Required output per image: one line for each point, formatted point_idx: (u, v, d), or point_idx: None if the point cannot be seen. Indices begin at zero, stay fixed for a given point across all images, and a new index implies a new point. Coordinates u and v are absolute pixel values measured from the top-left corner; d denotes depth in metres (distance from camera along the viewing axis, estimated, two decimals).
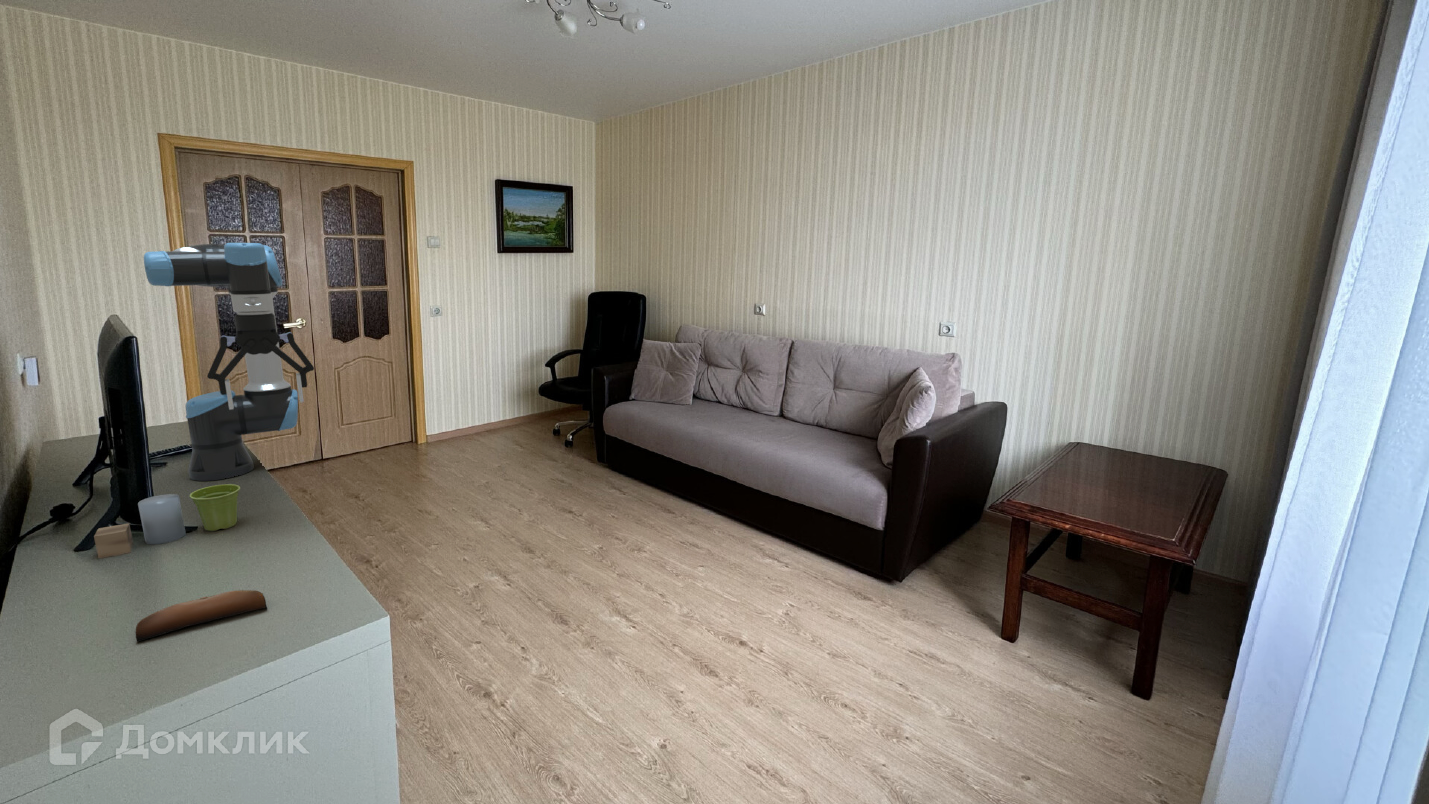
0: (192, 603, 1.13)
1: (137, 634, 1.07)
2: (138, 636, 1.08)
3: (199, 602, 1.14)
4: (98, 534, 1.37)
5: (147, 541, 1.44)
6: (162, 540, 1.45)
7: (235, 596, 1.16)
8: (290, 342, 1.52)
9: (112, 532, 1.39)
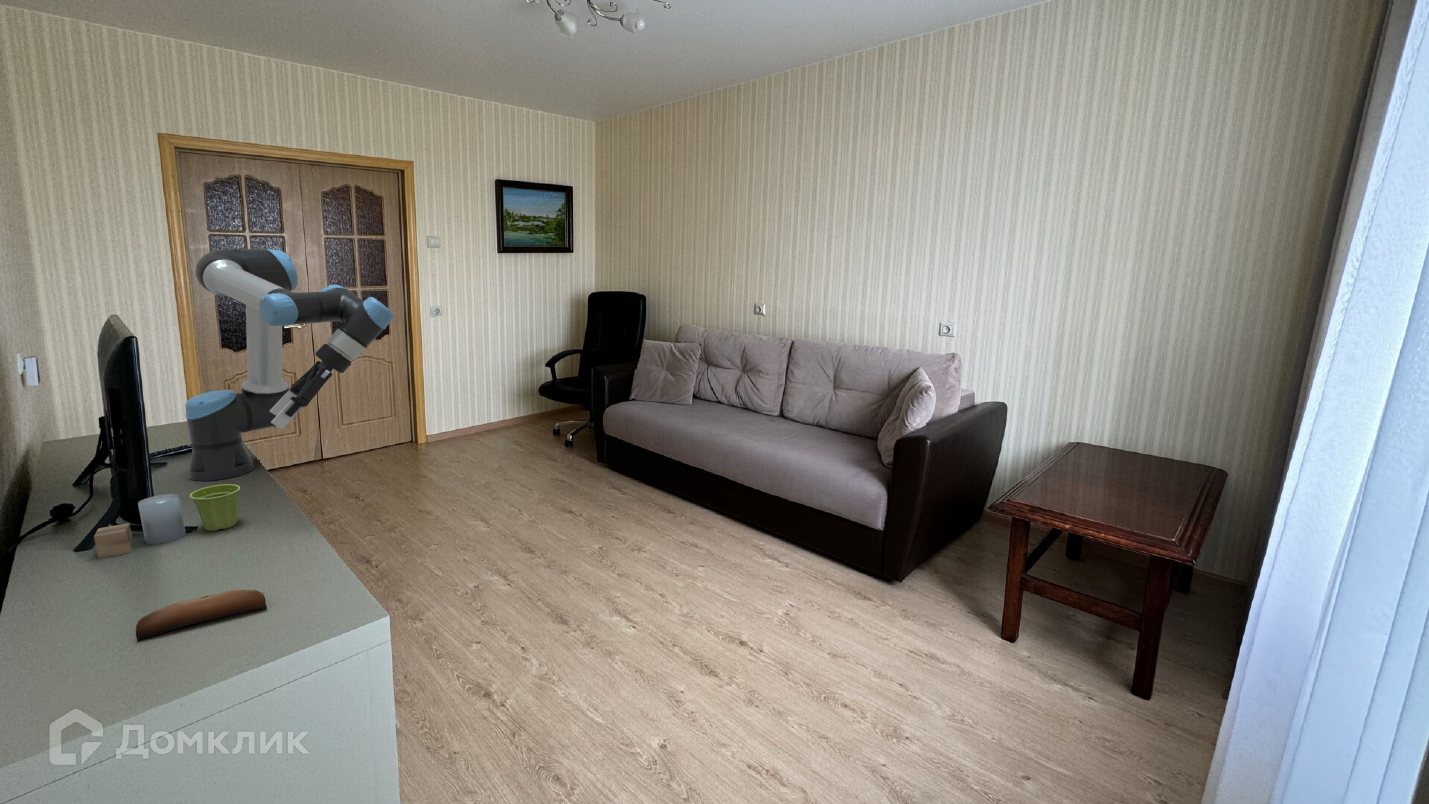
0: (192, 602, 1.14)
1: (137, 632, 1.08)
2: (138, 635, 1.08)
3: (199, 601, 1.14)
4: (98, 534, 1.37)
5: (147, 541, 1.44)
6: (162, 540, 1.45)
7: (235, 595, 1.16)
8: None
9: (112, 532, 1.39)
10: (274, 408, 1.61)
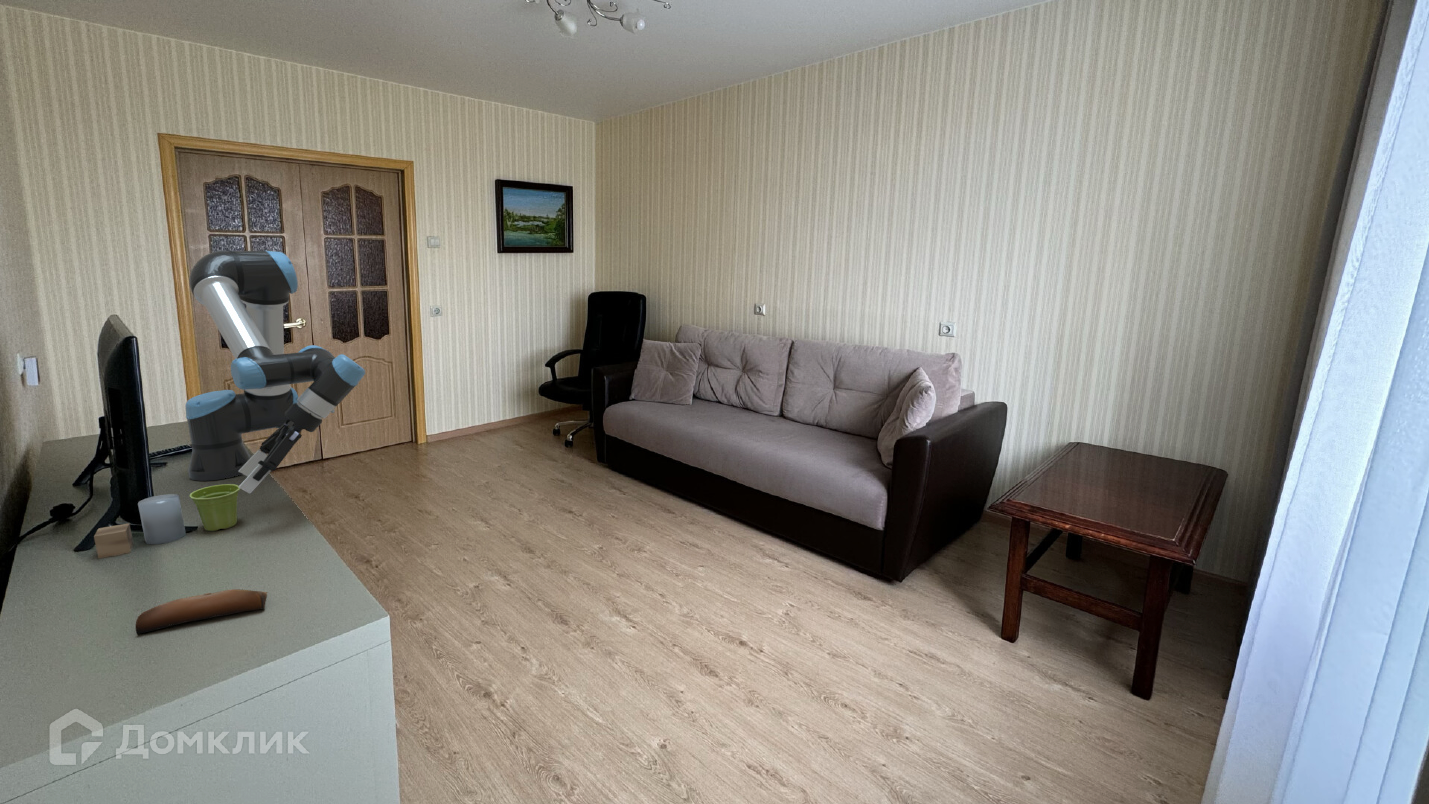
0: (193, 599, 1.15)
1: (137, 627, 1.10)
2: (138, 629, 1.10)
3: (199, 599, 1.15)
4: (98, 534, 1.37)
5: (147, 541, 1.44)
6: (162, 540, 1.45)
7: (234, 595, 1.16)
8: None
9: (112, 532, 1.39)
10: (243, 468, 1.59)
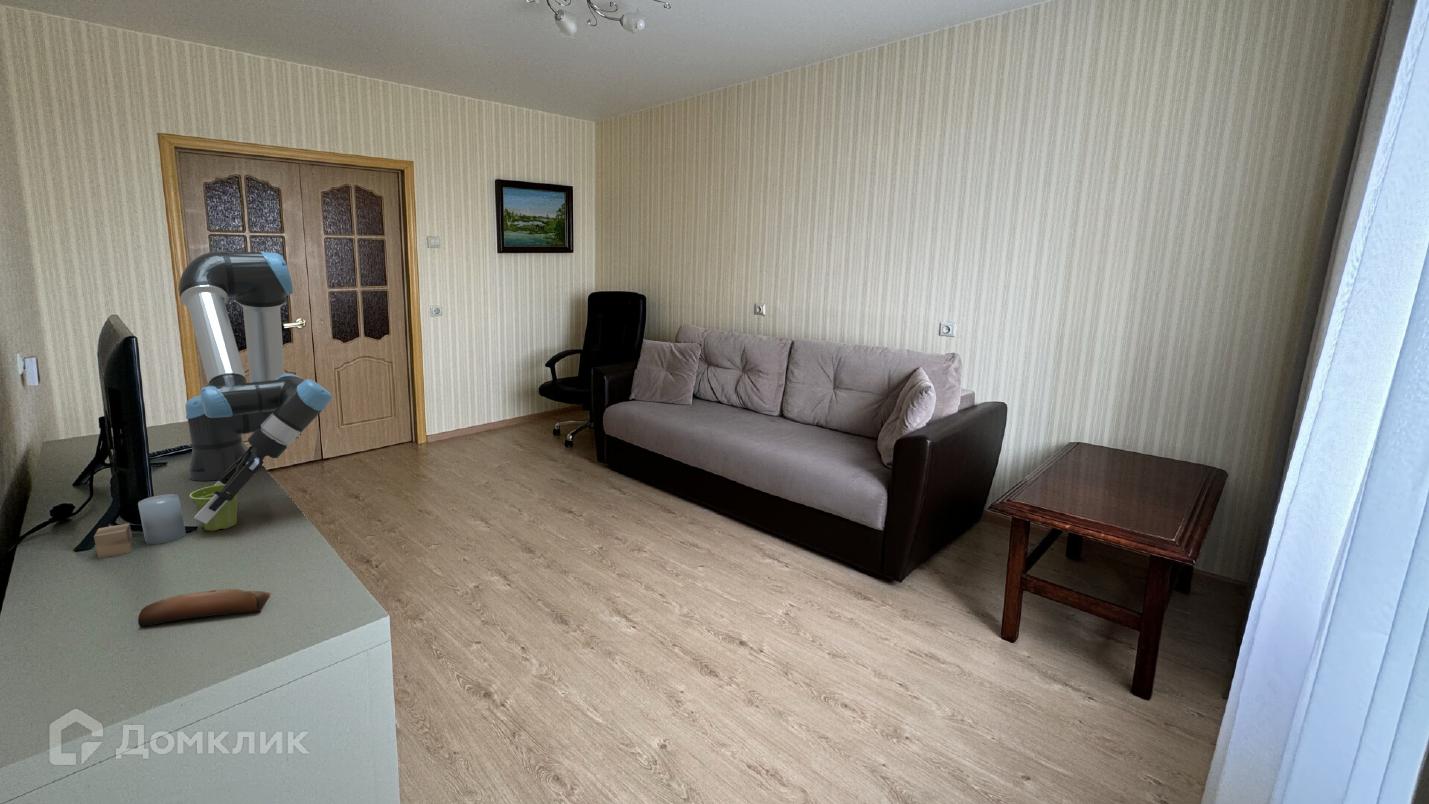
0: (195, 596, 1.16)
1: (139, 619, 1.12)
2: (140, 622, 1.12)
3: (200, 596, 1.16)
4: (98, 534, 1.37)
5: (147, 541, 1.44)
6: (162, 540, 1.45)
7: (232, 595, 1.16)
8: None
9: (112, 532, 1.39)
10: None
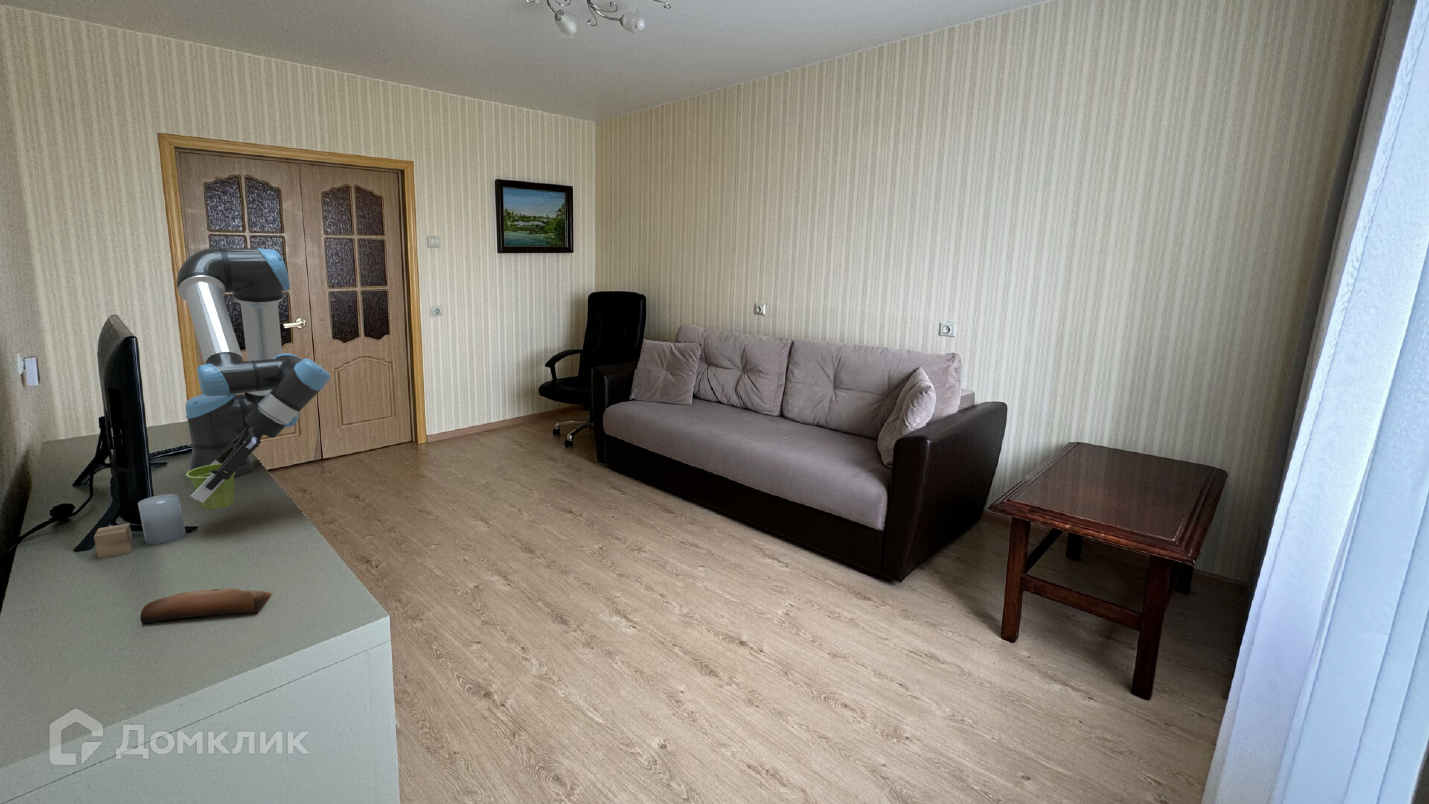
0: (196, 594, 1.16)
1: (141, 616, 1.13)
2: (142, 619, 1.13)
3: (201, 595, 1.16)
4: (98, 534, 1.37)
5: (147, 541, 1.44)
6: (162, 540, 1.45)
7: (231, 595, 1.16)
8: None
9: (112, 532, 1.39)
10: None
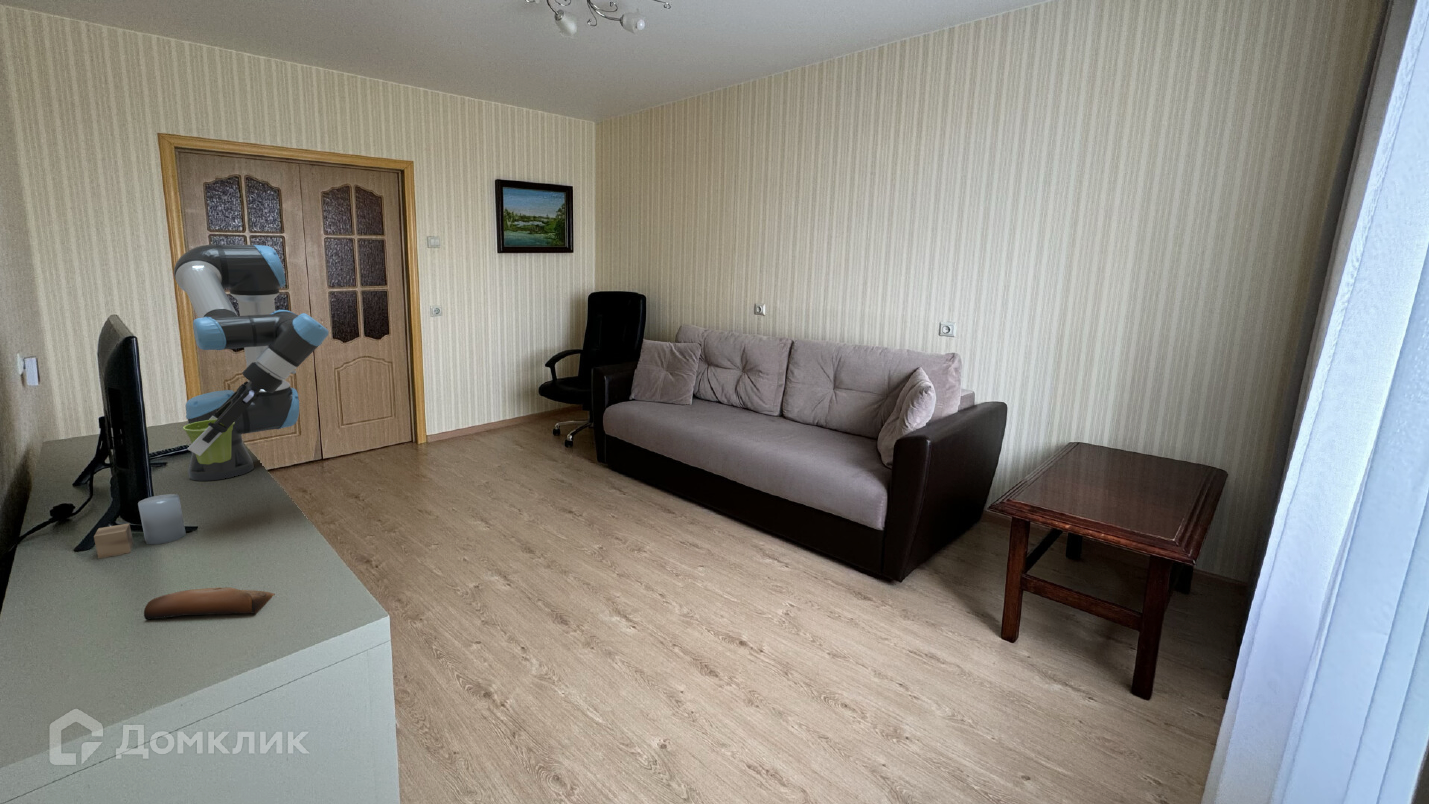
0: (198, 593, 1.17)
1: (145, 612, 1.14)
2: (145, 615, 1.14)
3: (202, 593, 1.17)
4: (98, 534, 1.37)
5: (147, 541, 1.44)
6: (162, 540, 1.45)
7: (230, 595, 1.16)
8: None
9: (112, 532, 1.39)
10: None
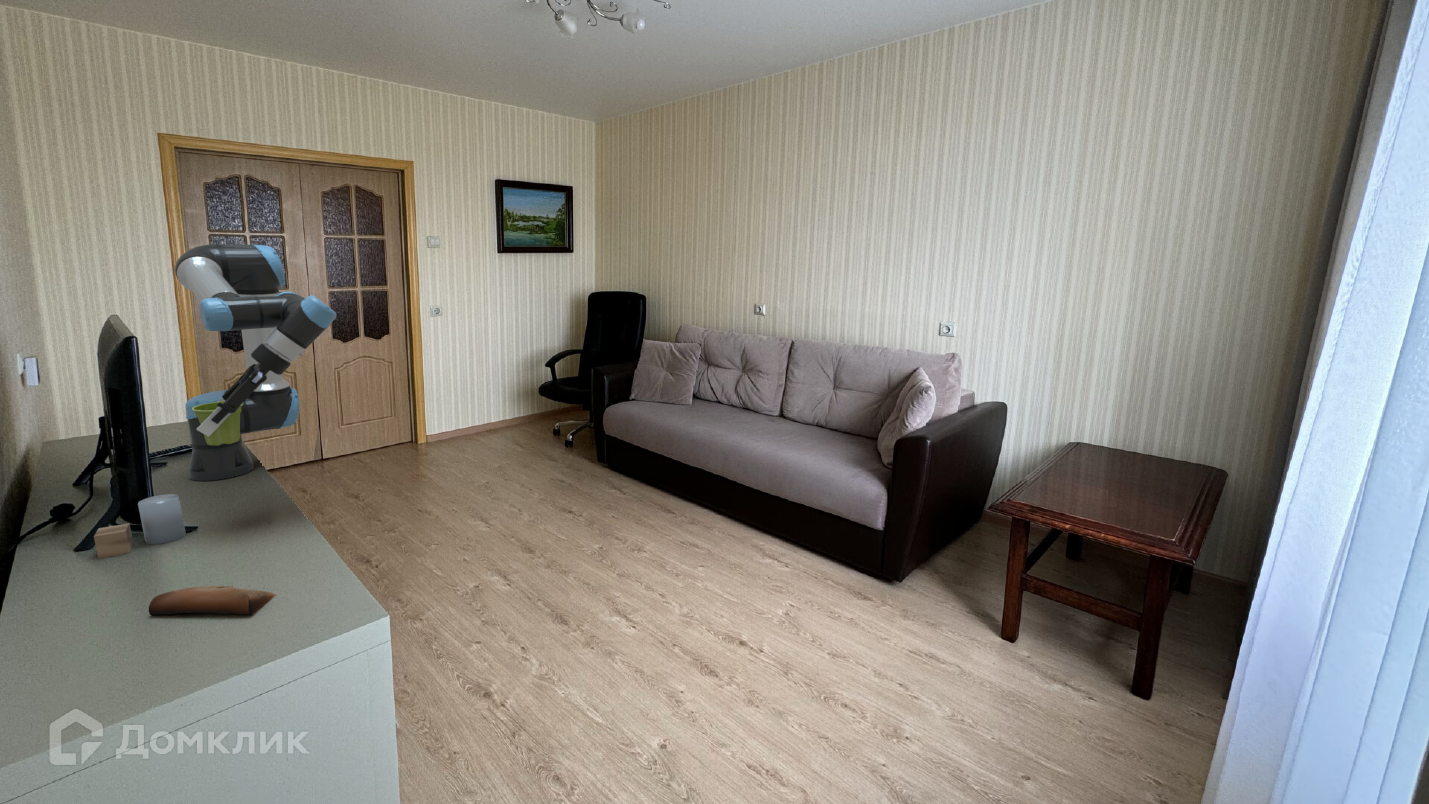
0: (200, 591, 1.17)
1: (149, 608, 1.15)
2: (150, 611, 1.15)
3: (204, 591, 1.17)
4: (98, 534, 1.37)
5: (147, 541, 1.44)
6: (162, 540, 1.45)
7: (229, 594, 1.16)
8: None
9: (112, 532, 1.39)
10: None
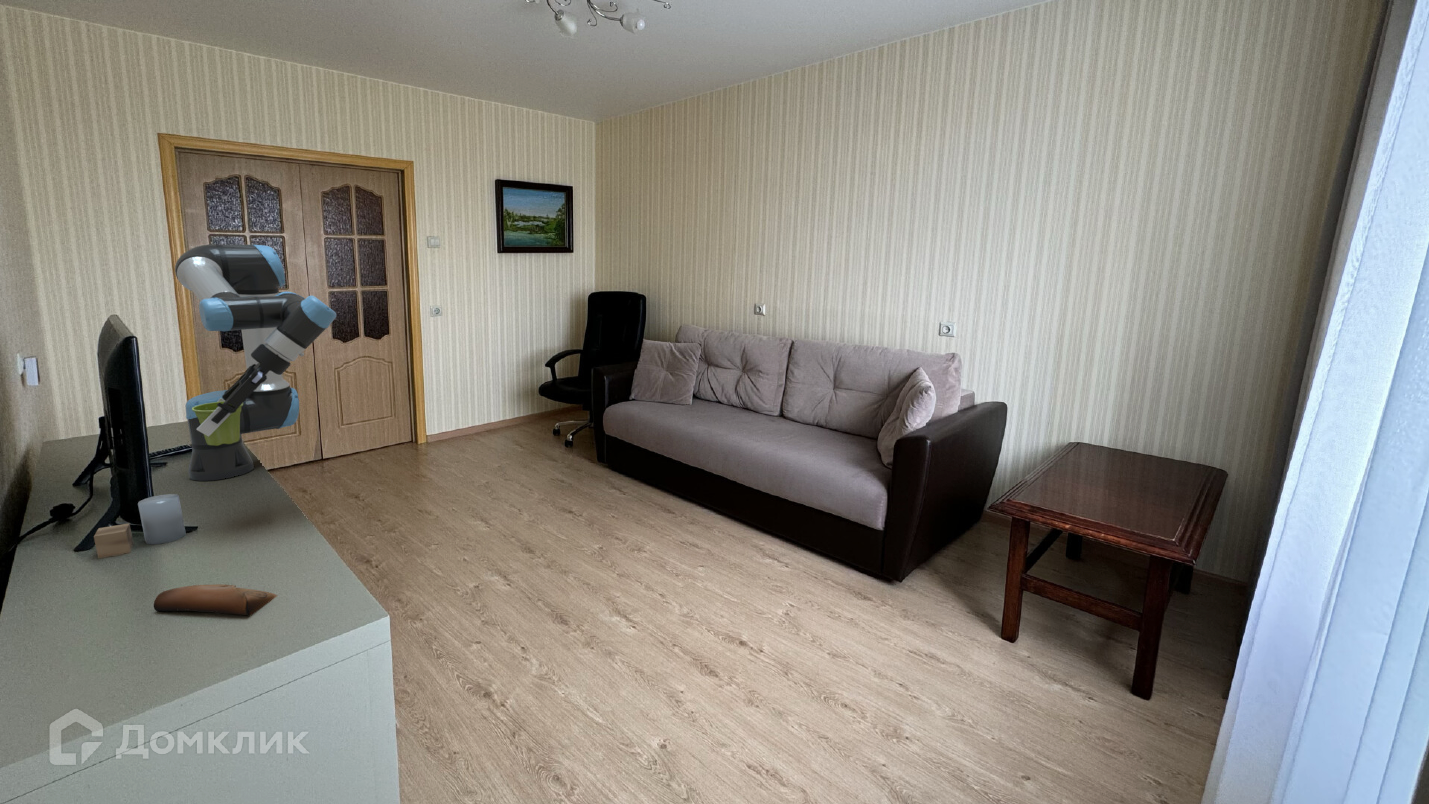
0: (203, 589, 1.18)
1: (154, 604, 1.17)
2: (155, 607, 1.17)
3: (206, 590, 1.18)
4: (98, 534, 1.37)
5: (147, 541, 1.44)
6: (162, 540, 1.45)
7: (229, 594, 1.17)
8: None
9: (112, 532, 1.39)
10: None
